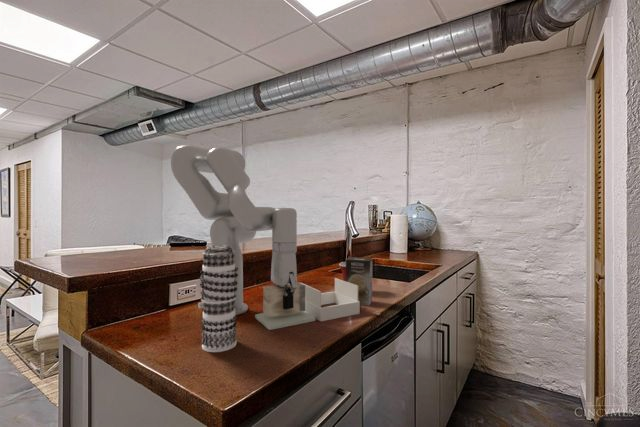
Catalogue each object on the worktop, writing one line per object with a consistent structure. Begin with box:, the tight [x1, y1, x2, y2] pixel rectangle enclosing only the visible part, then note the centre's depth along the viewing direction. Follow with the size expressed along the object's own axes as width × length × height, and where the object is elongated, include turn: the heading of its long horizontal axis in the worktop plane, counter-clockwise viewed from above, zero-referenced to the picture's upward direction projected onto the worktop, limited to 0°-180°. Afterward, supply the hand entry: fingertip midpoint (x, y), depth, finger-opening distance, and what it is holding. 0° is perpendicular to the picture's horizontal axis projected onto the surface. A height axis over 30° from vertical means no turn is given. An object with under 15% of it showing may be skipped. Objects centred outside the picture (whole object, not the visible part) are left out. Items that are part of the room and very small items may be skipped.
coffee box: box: [345, 256, 374, 307], centre depth 119 cm, size 9×6×16 cm
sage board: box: [254, 311, 316, 331], centre depth 101 cm, size 15×12×1 cm
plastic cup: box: [338, 261, 346, 281], centre depth 135 cm, size 11×11×12 cm
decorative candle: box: [199, 245, 238, 353], centre depth 82 cm, size 9×9×25 cm
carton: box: [300, 277, 361, 322], centre depth 109 cm, size 15×15×9 cm
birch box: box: [262, 281, 306, 317], centre depth 101 cm, size 12×5×8 cm, turn 120°
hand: (284, 305), depth 101 cm, fingers closed on birch box, 4 cm apart
